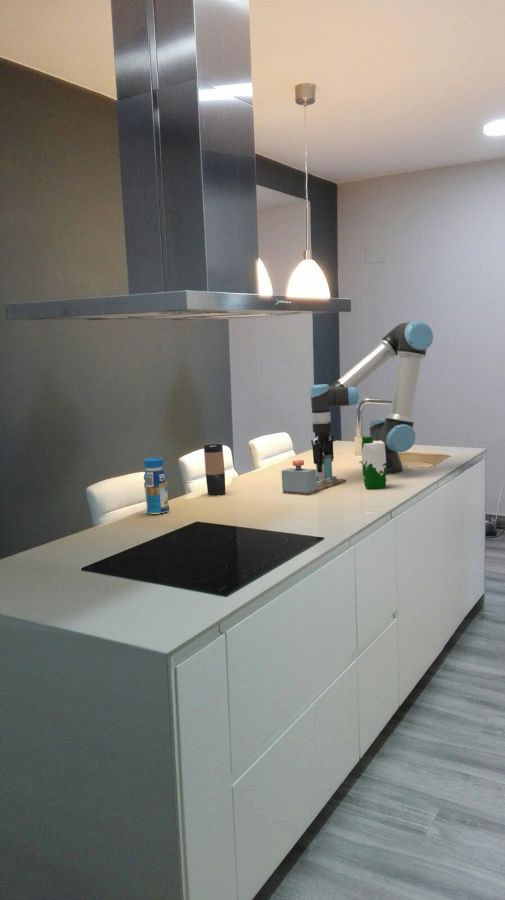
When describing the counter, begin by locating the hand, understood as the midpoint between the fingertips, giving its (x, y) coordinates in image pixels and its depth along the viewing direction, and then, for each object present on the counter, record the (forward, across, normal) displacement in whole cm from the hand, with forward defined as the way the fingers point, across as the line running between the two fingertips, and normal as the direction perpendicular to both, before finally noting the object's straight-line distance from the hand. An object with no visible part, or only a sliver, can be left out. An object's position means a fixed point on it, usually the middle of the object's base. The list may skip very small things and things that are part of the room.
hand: (324, 478), depth 296 cm
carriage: (+1, 0, 0) cm, 1 cm away
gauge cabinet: (+2, +18, 0) cm, 18 cm away
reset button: (-7, +18, 0) cm, 19 cm away
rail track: (+2, +8, 0) cm, 8 cm away
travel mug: (+2, +32, -31) cm, 45 cm away
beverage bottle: (+2, +66, -30) cm, 73 cm away
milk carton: (+2, 0, +23) cm, 23 cm away
